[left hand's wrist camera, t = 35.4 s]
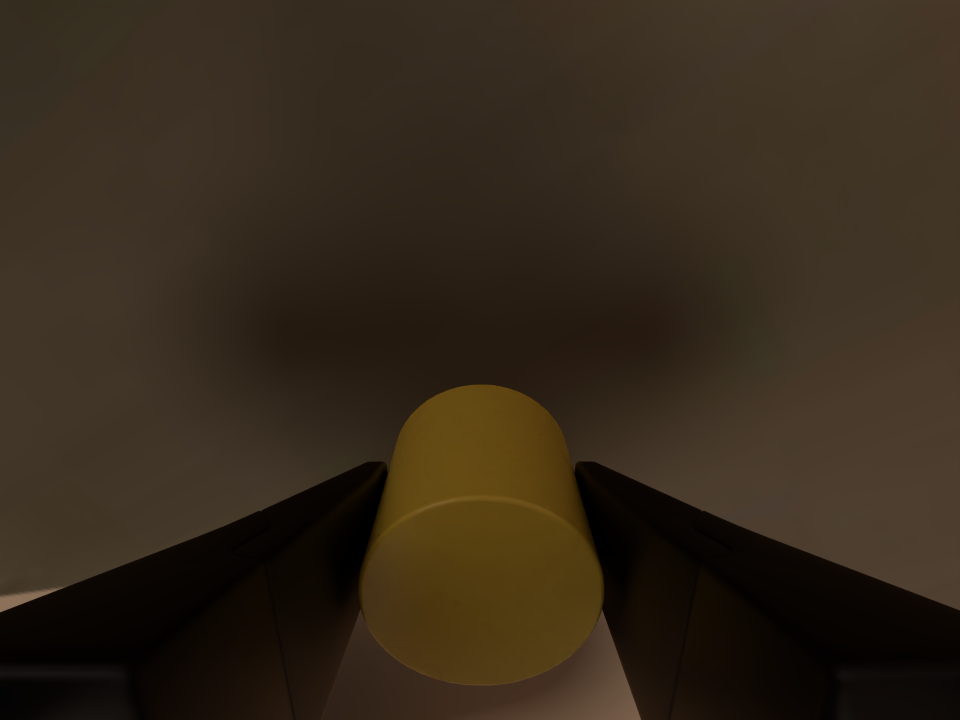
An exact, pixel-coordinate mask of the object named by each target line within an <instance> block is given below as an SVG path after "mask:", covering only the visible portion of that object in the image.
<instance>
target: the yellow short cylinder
mask: <svg viewBox="0 0 960 720" xmlns="http://www.w3.org/2000/svg"><path fill="white" fill-rule="evenodd" d="M604 593H605V583H604V574H603V571H602V567H601V564H600V560H599V557H598V554H597V550H596V547H595V543H594V540H593V536H592V533H591V529H590V526H589V522H588V519H587V515H586V512H585V508H584V505H583V501H582V498H581V494H580V491H579V488H578V484H577V481H576V477H575V474H574V470H573V467H572V463H571V460H570V456H569V453H568V449H567V446H566V442H565V439H564V436H563V434H562V431H561V429H560V427H559V426H558V424H557V423H556V421H555V419H554V418H553V417H552V416H551V415H550V413H549V412H548V411H547V410H546V409H545V408H543V407H542V406H541V405H540V404H539V403H537V402H536V401H534V400H533V399H531V398H530V397H528V396H526V395H524V394H522V393H520V392H518V391H515V390H512V389H509V388H505V387H500V386H495V385H484V384H483V385H468V386H461V387H457V388H454V389H450V390H447V391H445V392H443V393H440V394H438V395H436V396H434V397H433V398H431V399H429V400H427V401H426V402H425V403H424V404H422V405H421V406H420V407H418V408H417V409H416V410H415V412H414V413H413V414H412V415H411V416H410V417H409V418H408V420H407V421H406V423H405V424H404V426H403V428H402V430H401V431H400V434H399V437H398V439H397V442H396V446H395V449H394V453H393V456H392V460H391V463H390V467H389V470H388V474H387V477H386V481H385V484H384V488H383V491H382V495H381V498H380V502H379V505H378V509H377V513H376V516H375V520H374V523H373V527H372V530H371V534H370V537H369V541H368V544H367V548H366V551H365V555H364V558H363V562H362V565H361V569H360V574H359V579H358V597H359V603H360V608H361V612H362V615H363V617H364V620H365V623H366V624H367V626H368V628H369V630H370V632H371V633H372V635H373V636H374V638H375V639H376V640H377V642H378V643H379V644H380V645H381V646H382V647H383V648H384V649H385V650H386V651H387V652H388V653H389V654H390V655H392V656H393V657H394V658H395V659H397V660H398V661H399V662H401V663H403V664H404V665H406V666H407V667H409V668H411V669H413V670H415V671H417V672H419V673H421V674H424V675H427V676H429V677H432V678H435V679H438V680H442V681H446V682H450V683H457V684H463V685H477V686H480V685H498V684H506V683H512V682H516V681H521V680H524V679H527V678H531V677H534V676H536V675H539V674H541V673H543V672H546V671H548V670H550V669H552V668H553V667H555V666H557V665H559V664H560V663H562V662H563V661H564V660H566V659H567V658H569V657H570V656H571V655H572V654H574V653H575V652H576V651H577V650H578V649H579V648H580V647H581V646H582V645H583V643H584V642H585V641H586V640H587V638H588V637H589V636H590V634H591V633H592V631H593V629H594V628H595V626H596V624H597V622H598V619H599V617H600V614H601V610H602V606H603V602H604Z"/></svg>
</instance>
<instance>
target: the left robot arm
mask: <svg viewBox="0 0 960 720" xmlns="http://www.w3.org/2000/svg"><path fill="white" fill-rule="evenodd" d="M387 474H388V472H387V465H386V463H385V462H366V463H364V464H362V465H360V466H358V467H355V468H353V469H351V470H349V471H347V472H344V473H342V474H340V475H338V476H336V477H334V478H331V479H329V480H327V481H325V482H323V483H320V484H318V485H316V486H314V487H312V488H309V489H307V490H305V491H303V492H301V493H298V494H296V495H294V496H292V497H290V498H287V499H285V500H283V501H281V502H279V503H277V504H274V505H272V506H270V507H268V508H266V509H263V510H262V511H257V512H255V513H253V514H251V515H249V516H246V517H244V518H242V519H240V520H237V521H235V522H233V523H230V524H228V525H226V526H223V527H221V528H218V529H216V530H213V531H211V532H208V533H206V534H203V535H201V536H198V537H196V538H193V539H190V540H188V541H185V542H183V543H180V544H177V545H175V546H172V547H170V548H167V549H164V550H162V551H159V552H156V553H154V554H151V555H149V556H146V557H143V558H141V559H138V560H136V561H133V562H130V563H128V564H125V565H123V566H120V567H117V568H115V569H112V570H110V571H107V572H104V573H102V574H99V575H96V576H94V577H91V578H89V579H86V580H83V581H81V582H78V583H76V584H73V585H70V586H68V587H65V588H63V589H60V590H57V591H55V592H52V593H50V594H47V595H44V596H42V597H39V598H36V599H34V600H31V601H29V602H26V603H23V604H21V605H18V606H16V607H13V608H11V609H8V610H5V611H3V612H0V720H322V718H323V715H324V712H325V709H326V706H327V703H328V701H329V698H330V695H331V692H332V689H333V686H334V683H335V681H336V678H337V675H338V672H339V669H340V666H341V663H342V661H343V658H344V655H345V652H346V649H347V646H348V643H349V640H350V638H351V635H352V632H353V629H354V626H355V623H356V620H357V618H358V615H359V612H360V609H361V608H360V603H359V597H358V579H359V574H360V569H361V565H362V562H363V558H364V555H365V551H366V548H367V544H368V541H369V537H370V534H371V530H372V527H373V523H374V520H375V516H376V513H377V509H378V505H379V502H380V498H381V495H382V491H383V488H384V484H385V481H386V477H387ZM575 477H576V481H577V484H578V488H579V491H580V494H581V498H582V501H583V505H584V508H585V512H586V515H587V519H588V522H589V526H590V529H591V533H592V536H593V540H594V543H595V547H596V550H597V554H598V557H599V560H600V564H601V567H602V571H603V574H604V583H605V593H604V602H603V606H602V610H603V613H604V616H605V619H606V621H607V624H608V627H609V630H610V633H611V636H612V638H613V641H614V644H615V647H616V650H617V652H618V655H619V658H620V661H621V664H622V667H623V669H624V672H625V675H626V678H627V681H628V684H629V686H630V689H631V692H632V695H633V698H634V701H635V703H636V706H637V709H638V712H639V715H640V717H641V720H960V610H957V609H955V608H952V607H949V606H947V605H944V604H941V603H939V602H936V601H934V600H931V599H928V598H926V597H923V596H920V595H918V594H915V593H913V592H910V591H907V590H905V589H902V588H899V587H897V586H894V585H891V584H889V583H886V582H884V581H881V580H878V579H876V578H873V577H870V576H868V575H865V574H863V573H860V572H857V571H855V570H852V569H849V568H847V567H844V566H842V565H839V564H836V563H834V562H831V561H828V560H826V559H823V558H821V557H818V556H815V555H813V554H810V553H807V552H805V551H802V550H800V549H797V548H794V547H792V546H789V545H786V544H784V543H781V542H779V541H776V540H773V539H771V538H768V537H765V536H763V535H760V534H758V533H755V532H753V531H750V530H748V529H745V528H743V527H740V526H738V525H735V524H733V523H731V522H728V521H726V520H724V519H721V518H719V517H717V516H715V515H712V514H710V513H708V512H706V511H701V510H700V509H698V508H695V507H693V506H691V505H689V504H686V503H684V502H682V501H680V500H678V499H675V498H673V497H671V496H669V495H667V494H664V493H662V492H660V491H658V490H656V489H653V488H651V487H649V486H647V485H644V484H642V483H640V482H638V481H636V480H633V479H631V478H629V477H627V476H625V475H622V474H620V473H618V472H616V471H614V470H611V469H609V468H607V467H605V466H602V465H600V464H598V463H596V462H577V463H576V465H575Z"/></svg>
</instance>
